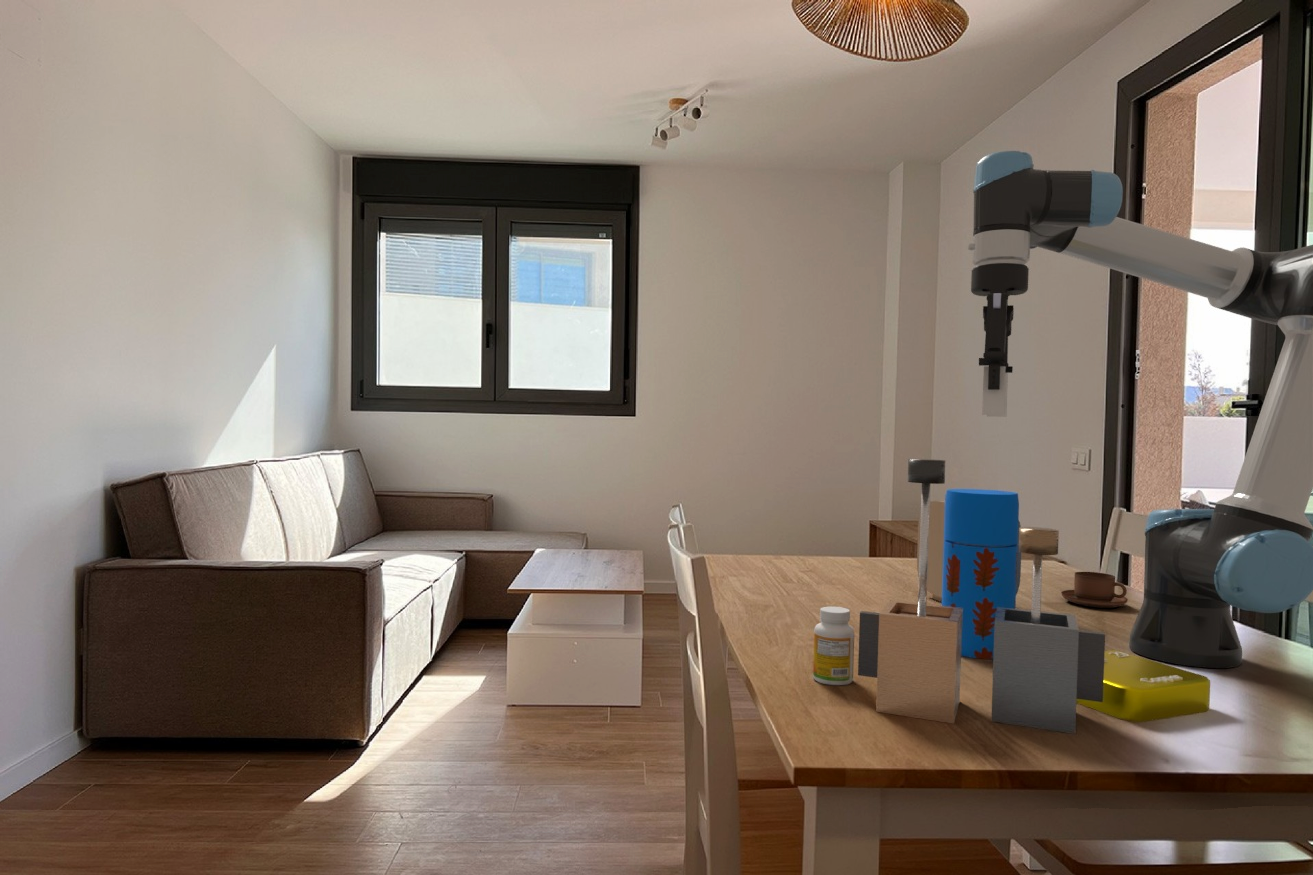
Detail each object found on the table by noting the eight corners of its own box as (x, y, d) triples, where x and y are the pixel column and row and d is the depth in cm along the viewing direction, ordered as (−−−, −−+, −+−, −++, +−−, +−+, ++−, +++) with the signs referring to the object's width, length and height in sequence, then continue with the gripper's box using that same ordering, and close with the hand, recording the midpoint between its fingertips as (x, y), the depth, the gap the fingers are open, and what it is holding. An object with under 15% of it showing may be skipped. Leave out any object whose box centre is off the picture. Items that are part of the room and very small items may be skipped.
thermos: (1020, 661, 129) (1025, 495, 129) (945, 656, 131) (950, 492, 131) (1005, 643, 140) (1011, 490, 139) (936, 638, 142) (941, 487, 142)
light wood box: (959, 701, 110) (962, 607, 110) (953, 723, 101) (957, 622, 101) (864, 687, 115) (867, 597, 114) (851, 707, 106) (854, 610, 106)
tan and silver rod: (1059, 696, 107) (1065, 528, 106) (1060, 710, 101) (1067, 533, 101) (1007, 689, 109) (1012, 525, 108) (1005, 702, 103) (1011, 530, 103)
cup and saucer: (1129, 604, 176) (1130, 574, 176) (1125, 614, 166) (1126, 582, 166) (1064, 596, 183) (1065, 567, 183) (1057, 605, 172) (1058, 575, 172)
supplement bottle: (824, 671, 121) (826, 603, 121) (859, 679, 118) (862, 609, 118) (805, 680, 117) (807, 609, 117) (841, 688, 114) (843, 615, 114)
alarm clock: (1020, 614, 163) (1024, 500, 162) (977, 616, 160) (980, 500, 160) (955, 592, 182) (959, 491, 182) (915, 594, 180) (919, 491, 179)
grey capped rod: (948, 624, 109) (954, 460, 108) (944, 634, 103) (950, 461, 103) (899, 619, 111) (905, 458, 111) (893, 628, 106) (898, 459, 105)
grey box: (1098, 714, 106) (1102, 617, 106) (1104, 738, 98) (1108, 633, 98) (994, 699, 111) (997, 606, 111) (991, 721, 103) (994, 620, 102)
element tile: (1131, 726, 103) (1133, 686, 103) (1033, 688, 117) (1035, 653, 117) (1216, 713, 109) (1218, 675, 109) (1113, 678, 123) (1115, 645, 123)
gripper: (976, 281, 135) (972, 416, 135) (965, 250, 112) (960, 413, 112) (1028, 279, 132) (1024, 417, 132) (1028, 247, 109) (1022, 414, 109)
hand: (994, 416), depth 122 cm, fingers open, 13 cm apart
